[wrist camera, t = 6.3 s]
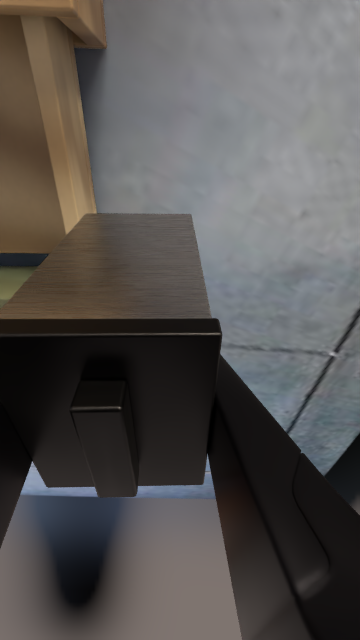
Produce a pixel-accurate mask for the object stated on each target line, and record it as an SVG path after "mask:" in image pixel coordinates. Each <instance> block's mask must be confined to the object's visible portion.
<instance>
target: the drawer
mask: <svg viewBox="0 0 360 640" xmlns="http://www.w3.org/2000/svg"><path fill="white" fill-rule="evenodd" d="M86 213H97V211H96V204H95V196H94V189H93V182H92V175H91V168H90V160H89V153H88V146H87V139H86V132H85V125H84V117H83V110H82V103H81V96H80V89H79V81H78V74H77V67H76V60H75V53H74V45H73V38H72V31H71V30H70V29H69V28H68V27H67V26H66V25H65V24H64V23H63V22H62V21H61V20H59V19H58V18H57V17H50V16H27V15H4V14H0V253H51V252H52V251H53V250H54V248H55V247H56V246H57V245H58V244H59V243H60V242H61V241H62V239H63V238H64V237H65V236H66V235H67V234H68V233H69V232H70V230H71V229H72V228H73V227H74V226H75V225H76V224H77V223H78V221H79V220H80V219H81V218H82V217H83V216H84V215H85V214H86ZM37 268H38V266H0V309H1V308H2V307H3V306H4V305H5V304H6V302H7V301H8V300H9V299H10V298H11V297H12V296H13V295H14V293H15V292H16V291H17V290H18V289H19V288H20V287H21V286H22V284H23V283H24V282H25V281H26V280H27V279H28V278H29V277H30V275H31V274H32V273H33V272H34V271H35V270H36V269H37Z"/></svg>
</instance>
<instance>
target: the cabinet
mask: <svg viewBox="0 0 360 640" xmlns="http://www.w3.org/2000/svg"><path fill="white" fill-rule="evenodd" d="M0 14H4V15H27V16H50V17H57V18H58V19H59V20H61V21H62V22H63V23H64V24H65V25H66V26H67V27H68V28H69V29H70V30H71V31H72V38H73V45H74V48H91V49H107V41H106V30H105V19H104V8H103V0H0Z"/></svg>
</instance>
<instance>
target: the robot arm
mask: <svg viewBox="0 0 360 640" xmlns="http://www.w3.org/2000/svg"><path fill="white" fill-rule="evenodd" d="M208 458H209V464H210V469H211V474H212V480H213V485H214V490H215V496H216V501H217V507H218V512H219V517H220V523H221V528H222V534H223V538H224V544H225V550H226V555H227V561H228V566H229V571H230V576H231V582H232V588H233V593H234V598H235V604H236V609H237V614H238V620H239V625H240V630H241V636H242V640H360V515H359V514H358V513H357V512H356V511H355V510H354V509H353V508H352V507H351V506H350V505H349V504H348V503H347V502H346V501H345V500H344V499H343V498H342V497H341V495H340V494H339V493H338V492H337V491H336V490H335V489H334V488H333V487H332V486H331V484H330V483H329V482H328V481H327V480H326V479H325V478H324V476H323V475H322V474H321V473H320V472H319V471H318V470H317V469H316V467H315V466H314V465H313V464H312V463H311V461H310V460H309V459H308V458H307V457H306V455H305V454H304V453H301V450H300V448H299V447H298V446H297V445H296V444H295V443H294V441H293V440H292V439H291V438H290V437H289V435H288V434H287V433H286V432H285V431H284V429H283V428H282V427H281V426H280V425H279V423H278V422H277V421H276V420H275V419H274V418H273V416H272V415H271V414H270V413H269V412H268V410H267V409H266V408H265V407H264V406H263V404H262V403H261V402H260V401H259V400H258V399H257V397H256V396H255V395H254V394H253V393H252V391H251V390H250V389H249V388H248V387H247V385H246V384H245V383H244V382H243V381H242V379H241V378H240V377H239V376H238V375H237V374H236V372H235V371H234V370H233V369H232V368H231V366H230V365H229V364H228V363H227V362H226V360H225V359H224V358H223V357H222V356H221V355H220V358H219V366H218V373H217V381H216V389H215V397H214V405H213V413H212V421H211V429H210V437H209V445H208ZM31 463H32V459H31V457H30V455H29V454H28V452H27V450H26V448H25V446H24V444H23V443H22V441H21V439H20V437H19V435H18V433H17V431H16V430H15V428H14V426H13V424H12V422H11V420H10V419H9V417H8V415H7V413H6V411H5V409H4V407H3V406H2V404H1V402H0V548H1V545H2V542H3V540H4V537H5V534H6V531H7V528H8V526H9V523H10V521H11V518H12V515H13V512H14V510H15V507H16V504H17V501H18V499H19V496H20V493H21V491H22V488H23V485H24V482H25V480H26V477H27V474H28V471H29V469H30V466H31Z"/></svg>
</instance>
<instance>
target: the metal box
mask: <svg viewBox="0 0 360 640" xmlns="http://www.w3.org/2000/svg"><path fill="white" fill-rule="evenodd" d="M221 342H222V331H221V327H220V323H219V320H218V319H216V318H212V317H211V311H210V306H209V301H208V296H207V291H206V286H205V281H204V276H203V271H202V266H201V261H200V256H199V251H198V246H197V240H196V235H195V230H194V225H193V220H192V215H191V214H118V213H86V214H85V215H84V216H83V217H82V218H81V219H80V220H79V221H78V223H77V224H76V225H75V226H74V227H73V228H72V229H71V230H70V232H69V233H68V234H67V235H66V236H65V237H64V238H63V239H62V241H61V242H60V243H59V244H58V245H57V246H56V247H55V248H54V250H53V251H52V252H51V253H50V254H49V255H48V256H47V257H46V259H45V260H44V261H43V262H42V263H41V264H40V265H39V266H38V268H37V269H36V270H35V271H34V272H33V273H32V274H31V275H30V277H29V278H28V279H27V280H26V281H25V282H24V283H23V284H22V286H21V287H20V288H19V289H18V290H17V291H16V292H15V293H14V295H13V296H12V297H11V298H10V299H9V300H8V301H7V302H6V304H5V305H4V306H3V307H2V308H1V309H0V402H1V404H2V406H3V407H4V409H5V411H6V413H7V415H8V417H9V419H10V420H11V422H12V424H13V426H14V428H15V430H16V431H17V433H18V435H19V437H20V439H21V441H22V443H23V444H24V446H25V448H26V450H27V452H28V454H29V455H30V457H31V459H32V461H33V463H34V465H35V466H36V468H37V470H38V472H39V474H40V476H41V478H42V479H43V481H44V483H45V485H46V487H48V488H50V487H95V489H96V492H97V495H98V497H134V496H136V494H137V489H138V486H163V485H202V484H203V483H204V476H205V468H206V460H207V453H208V445H209V437H210V429H211V421H212V413H213V405H214V397H215V389H216V381H217V373H218V366H219V358H220V350H221Z"/></svg>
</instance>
